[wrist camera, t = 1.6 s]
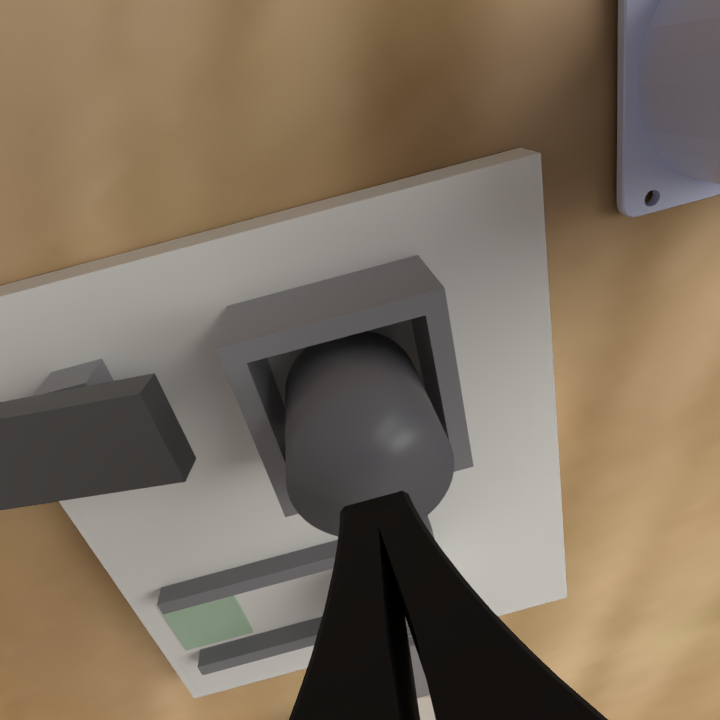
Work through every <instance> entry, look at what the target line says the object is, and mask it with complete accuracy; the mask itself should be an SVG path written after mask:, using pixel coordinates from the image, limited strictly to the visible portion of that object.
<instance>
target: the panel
mask: <svg viewBox="0 0 720 720" xmlns="http://www.w3.org/2000/svg"><path fill="white" fill-rule="evenodd" d="M365 331H372V332H376V333H379V334H382V335H384V336H386V337H388V338H390V339H392V340H393V341H395V342H396V343H397V344H398V345H400V346H401V347H402V348H403V349H404V350H405V352H406V353H407V354H408V356H409V357H410V359H411V361H412V363H413V365H414V367H415V369H416V371H417V374H418V376H419V378H420V380H421V382H422V384H423V386H424V388H425V391H426V393H427V395H428V397H429V399H430V401H431V403H432V406H433V408H434V410H435V412H436V414H437V416H438V418H439V421H440V423H441V425H442V427H443V429H444V431H445V433H446V435H447V438H448V440H449V442H450V444H451V446H452V450H453V454H454V473H453V478H452V481H451V484H450V487H449V489H448V491H447V493H446V495H445V496H444V498H443V499H442V501H441V502H440V503H439V505H438V506H437V507H436V508H435V509H434V510H433V511H432V512H431V513H430V514H428V515H427V516H426V517H425V518H424V519H422V521H423V522H424V524H425V526H426V527H427V529H428V530H429V532H430V533H431V535H432V536H433V538H434V539H435V540H436V542H437V543H438V545H439V546H440V547H441V549H442V550H443V552H444V553H445V554H446V555H447V557H448V558H449V559H450V561H451V562H452V563H453V564H454V566H455V567H456V568H457V570H458V571H459V572H460V574H461V575H462V576H463V577H464V578H465V580H466V581H467V582H468V583H469V584H470V586H471V587H472V588H473V589H474V590H475V592H476V593H477V594H478V595H479V596H480V597H481V598H482V600H483V601H484V602H485V603H486V604H487V605H488V606H489V608H490V609H491V610H492V611H493V612H494V613H495V614H496V615H497V616H500V615H504V614H508V613H511V612H515V611H519V610H522V609H526V608H530V607H533V606H537V605H541V604H544V603H548V602H552V601H555V600H559V599H563V598H566V597H567V586H566V569H565V553H564V536H563V519H562V502H561V485H560V468H559V451H558V434H557V418H556V401H555V384H554V367H553V350H552V333H551V316H550V299H549V282H548V266H547V249H546V232H545V215H544V198H543V181H542V164H541V153H539V152H535V151H532V150H528V149H524V148H517V149H513V150H509V151H505V152H502V153H498V154H494V155H490V156H487V157H483V158H479V159H475V160H471V161H468V162H464V163H460V164H456V165H453V166H449V167H445V168H441V169H438V170H434V171H430V172H426V173H423V174H419V175H415V176H411V177H408V178H404V179H400V180H396V181H393V182H389V183H385V184H381V185H377V186H374V187H370V188H366V189H362V190H359V191H355V192H351V193H347V194H344V195H340V196H336V197H332V198H329V199H325V200H321V201H317V202H314V203H310V204H306V205H302V206H298V207H295V208H291V209H287V210H283V211H280V212H276V213H272V214H268V215H265V216H261V217H257V218H253V219H250V220H246V221H242V222H238V223H235V224H231V225H227V226H223V227H220V228H216V229H212V230H208V231H204V232H201V233H197V234H193V235H189V236H186V237H182V238H178V239H174V240H171V241H167V242H163V243H159V244H156V245H152V246H148V247H144V248H141V249H137V250H133V251H129V252H125V253H122V254H118V255H114V256H110V257H107V258H103V259H99V260H95V261H92V262H88V263H84V264H80V265H77V266H73V267H69V268H65V269H62V270H58V271H54V272H50V273H47V274H43V275H39V276H35V277H31V278H28V279H24V280H20V281H16V282H13V283H9V284H5V285H1V286H0V402H4V401H9V400H14V399H20V398H25V397H30V396H36V395H41V394H46V393H52V392H57V391H62V390H68V389H73V388H78V387H84V386H89V385H94V384H100V383H105V382H110V381H116V380H121V379H126V378H132V377H137V376H142V375H148V374H153V373H155V375H156V377H157V379H158V381H159V383H160V385H161V387H162V389H163V391H164V393H165V395H166V397H167V399H168V401H169V403H170V405H171V407H172V409H173V411H174V414H175V416H176V418H177V420H178V422H179V424H180V426H181V428H182V430H183V432H184V434H185V436H186V438H187V440H188V442H189V444H190V446H191V448H192V450H193V452H194V454H195V456H196V460H195V462H194V464H193V467H192V469H191V471H190V473H189V475H188V477H187V479H186V481H185V482H181V483H175V484H168V485H162V486H155V487H149V488H142V489H135V490H129V491H122V492H116V493H109V494H103V495H96V496H90V497H83V498H77V499H70V500H64V501H59V503H60V504H61V506H62V507H63V508H64V510H65V511H66V513H67V514H68V516H69V517H70V519H71V520H72V521H73V523H74V524H75V526H76V527H77V529H78V530H79V532H80V533H81V535H82V536H83V537H84V539H85V540H86V542H87V543H88V545H89V546H90V548H91V549H92V551H93V552H94V553H95V555H96V556H97V558H98V559H99V561H100V562H101V564H102V565H103V567H104V568H105V569H106V571H107V572H108V574H109V575H110V577H111V578H112V580H113V581H114V583H115V584H116V585H117V587H118V588H119V590H120V591H121V593H122V594H123V596H124V597H125V599H126V600H127V601H128V603H129V604H130V606H131V607H132V609H133V610H134V612H135V613H136V615H137V616H138V617H139V619H140V620H141V622H142V623H143V625H144V626H145V628H146V629H147V631H148V632H149V633H150V635H151V636H152V638H153V639H154V641H155V642H156V644H157V645H158V647H159V648H160V649H161V651H162V652H163V654H164V655H165V657H166V658H167V660H168V661H169V663H170V664H171V665H172V667H173V668H174V670H175V671H176V673H177V674H178V676H179V677H180V678H181V680H182V681H183V683H184V684H185V686H186V687H187V689H188V690H189V692H190V693H191V694H192V696H193V697H194V698H198V697H202V696H206V695H209V694H213V693H217V692H220V691H224V690H228V689H231V688H235V687H239V686H242V685H246V684H250V683H253V682H257V681H261V680H264V679H268V678H272V677H276V676H279V675H283V674H287V673H290V672H294V671H298V670H301V669H305V668H307V667H308V664H309V661H310V658H311V655H312V651H313V648H314V644H315V641H316V637H317V633H318V630H319V626H320V623H321V619H322V616H323V612H324V608H325V604H326V600H327V595H328V590H329V586H330V581H331V577H332V572H333V567H334V561H335V555H336V550H337V543H338V536H334V535H331V534H328V533H325V532H323V531H321V530H319V529H317V528H315V527H314V526H312V525H311V524H309V523H308V522H307V521H305V520H304V519H303V518H302V517H301V516H300V515H299V514H298V512H297V511H296V510H295V508H294V507H293V505H292V503H291V501H290V499H289V496H288V492H287V488H286V437H285V387H286V380H287V376H288V373H289V370H290V368H291V366H292V364H293V363H294V361H295V360H296V358H297V357H298V356H299V355H300V353H301V352H302V351H303V350H304V349H305V348H307V347H309V346H313V345H317V344H320V343H324V342H328V341H332V340H335V339H339V338H343V337H346V336H350V335H354V334H358V333H361V332H365Z"/></svg>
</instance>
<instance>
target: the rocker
mask: <svg viewBox="0 0 720 720" xmlns="http://www.w3.org/2000/svg"><path fill="white" fill-rule="evenodd" d="M195 460H196V456H195V454H194V452H193V450H192V448H191V446H190V444H189V442H188V440H187V438H186V436H185V434H184V432H183V430H182V428H181V426H180V424H179V422H178V420H177V418H176V416H175V414H174V411H173V409H172V407H171V405H170V403H169V401H168V399H167V397H166V395H165V393H164V391H163V389H162V387H161V385H160V383H159V381H158V379H157V377H156V375H155V373H153V374H148V375H142V376H137V377H132V378H126V379H121V380H116V381H110V382H105V383H100V384H94V385H89V386H84V387H78V388H73V389H68V390H62V391H57V392H52V393H46V394H41V395H36V396H30V397H25V398H20V399H14V400H9V401H4V402H0V510H5V509H11V508H18V507H24V506H31V505H37V504H44V503H50V502H57V501H64V500H70V499H77V498H83V497H90V496H96V495H103V494H109V493H116V492H122V491H129V490H135V489H142V488H149V487H155V486H162V485H168V484H175V483H181V482H185V481H186V479H187V477H188V475H189V473H190V471H191V469H192V467H193V464H194V462H195Z"/></svg>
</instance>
